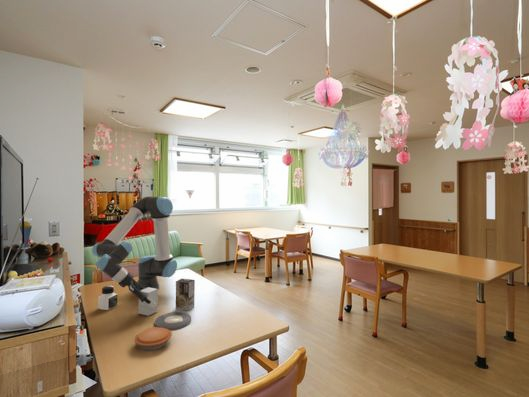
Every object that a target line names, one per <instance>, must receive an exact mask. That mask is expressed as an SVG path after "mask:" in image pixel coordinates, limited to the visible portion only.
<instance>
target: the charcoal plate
mask: <svg viewBox="0 0 529 397" xmlns="http://www.w3.org/2000/svg"><path fill="white" fill-rule="evenodd" d="M191 322H192V316H191V314H189V313H186V312H183V311H182V312H181V311H174V312H168V313H165V314H162V315H159V316H158V317H157V318H155V321H154V325H155V328H165V329H168V330H170V331H172V330H171V329H174V330H177V329H178V328H179V329H181V328H185V327H187V326H188V325H189V324H190V323H191ZM186 325H187V326H186ZM184 326H185V327H184Z"/></svg>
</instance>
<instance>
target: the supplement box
mask: <svg viewBox="0 0 529 397" xmlns="http://www.w3.org/2000/svg"><path fill="white" fill-rule="evenodd" d="M141 292H142V293H143V294H144V295H145V296H146V297H148V298H150V299H151V300H152V301H153V302H155V303H156V305H155V307H154V308H151V307H150V306H149V305H148V304H146V303H145V302H144V301H143V302H141V300H140V299H139V298H138V314H140V315H142V316H150V315H153V314H155V313H157V312H158V311H159V310H158V308H159V304H158V303H159V302H158V301H159V289H155V288H150V287H148V288H145V289H143V290H141ZM143 298H144V297H143Z"/></svg>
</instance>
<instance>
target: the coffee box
mask: <svg viewBox="0 0 529 397" xmlns="http://www.w3.org/2000/svg"><path fill="white" fill-rule="evenodd" d="M195 282H196V280H195V279H190V278H180V279H178V280H176V281H175V309H176V310H182V311H190V310H192V309H194V308H195V289H196V288H195Z"/></svg>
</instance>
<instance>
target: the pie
mask: <svg viewBox="0 0 529 397" xmlns="http://www.w3.org/2000/svg"><path fill="white" fill-rule="evenodd" d="M172 336H173V332H172V330H168V329H165V328H157V327H151V328H147V329H145V330H143V331H141V332H139V333H138V334H136V336H135V337H134V343H135V344H136V345H137V346H138V348H139V349H141V350H142V351H145V352H146V351H147V352H149V351H156V350H159V349H161V348H164V347H165V346H166V345H167V343H168V341H170V339H171V338H172Z"/></svg>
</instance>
